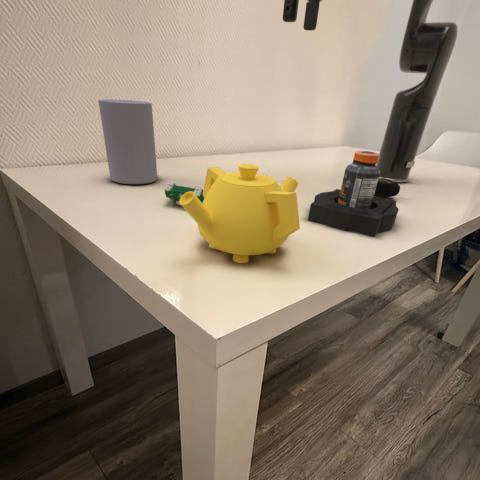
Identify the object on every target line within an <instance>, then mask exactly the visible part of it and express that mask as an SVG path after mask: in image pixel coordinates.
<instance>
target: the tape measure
mask: <svg viewBox="0 0 480 480" xmlns="http://www.w3.org/2000/svg"><path fill="white" fill-rule="evenodd" d="M400 191H401V185H400V184H399V183H398V182H393V181H390V180H387V179H384V178H379V179H378V182H377V186H376V190H375V193H374V196H376V197H379V198H384V199H388V198H392V197H396V196H398V195H399V194H400Z"/></svg>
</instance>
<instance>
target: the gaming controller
mask: <svg viewBox="0 0 480 480" xmlns="http://www.w3.org/2000/svg"><path fill="white" fill-rule="evenodd" d="M203 190H204V188H202V186H201V184H199V183H198V184H196V185H195V187H194V188H193V187H189V186H182V185H177V184H176V183H174V180H172V179H170V180H168V182H167V183H166V185H165V187H164V196H165V197H166V198H168V199H169V200H172V201H175V204H176V205H177V206H182V205H181V204H180V202H179V201H180V198H181V197H182V196H183V195H184V194H185V193H186V192H189V191H193V192H194V193H195V195H196V196H197V197H198V199H199V200H200V201H201V203H203V201H204V196H203Z"/></svg>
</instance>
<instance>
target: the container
mask: <svg viewBox="0 0 480 480" xmlns="http://www.w3.org/2000/svg"><path fill="white" fill-rule="evenodd" d="M97 101H98V108H99V114H100V121H101V127H102V134H103V139H104V140H103V141H104V146H105V147H104V148H105V153H106V158H107V159H106V160H107V164H108V172H109V178H110V180H111V181H112V182H115V183H117V184H120V185H128V186H142V185H143V186H144V185H150V184H153V183H155V182H156V181H157V180H158V168H157V154H156V142H155V141H156V140H155V129H154V118H153V117H154V115H153V103H152V102H150V101H142V100H129V99H110V98H109V99H98V100H97Z"/></svg>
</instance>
